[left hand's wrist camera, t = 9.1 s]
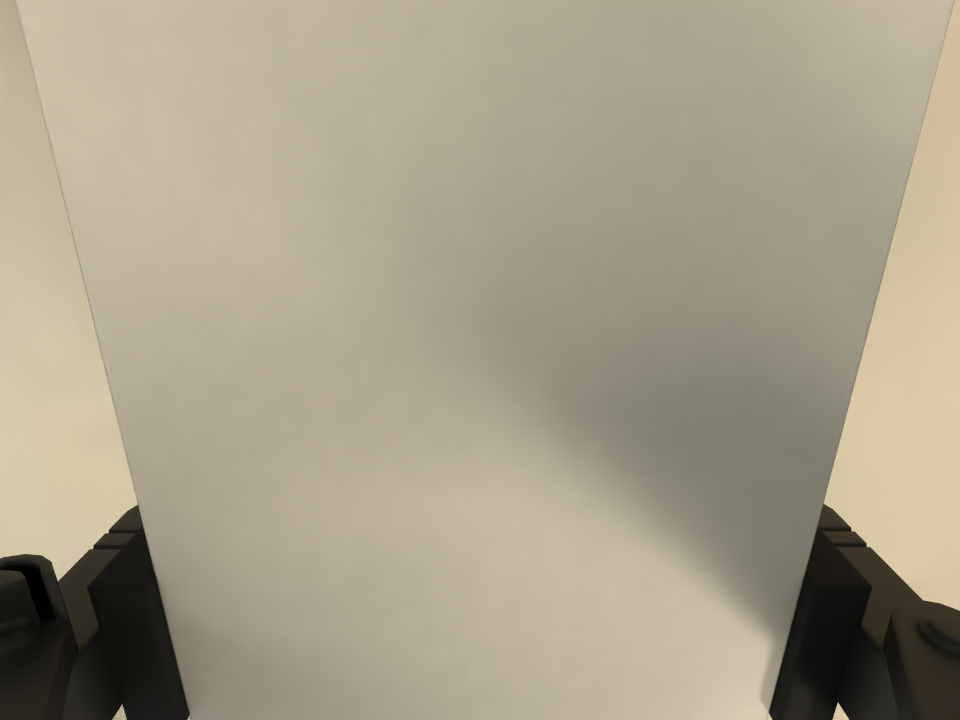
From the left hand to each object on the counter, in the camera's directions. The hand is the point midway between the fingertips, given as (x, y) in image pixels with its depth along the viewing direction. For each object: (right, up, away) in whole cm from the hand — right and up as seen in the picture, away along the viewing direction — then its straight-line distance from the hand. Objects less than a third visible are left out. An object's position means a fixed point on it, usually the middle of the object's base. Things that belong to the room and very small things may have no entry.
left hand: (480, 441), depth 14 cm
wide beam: (0, +27, -10) cm, 29 cm away
